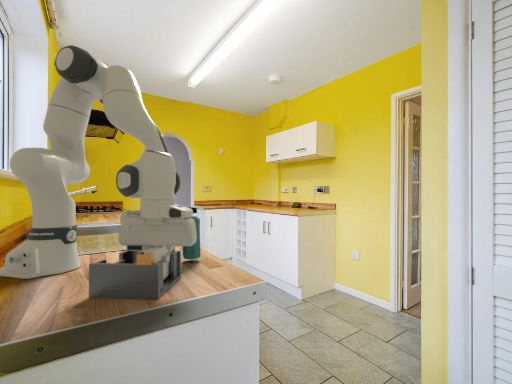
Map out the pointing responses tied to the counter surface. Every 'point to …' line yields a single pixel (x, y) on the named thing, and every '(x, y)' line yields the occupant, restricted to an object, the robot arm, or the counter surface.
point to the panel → (159, 258)
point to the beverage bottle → (194, 250)
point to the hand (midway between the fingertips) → (158, 262)
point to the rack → (133, 276)
